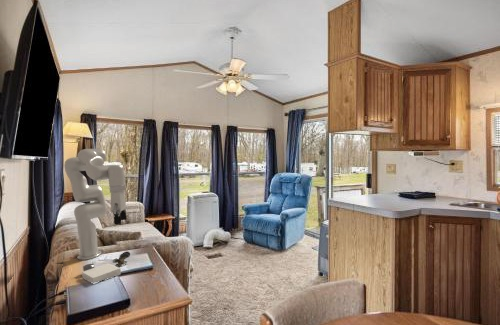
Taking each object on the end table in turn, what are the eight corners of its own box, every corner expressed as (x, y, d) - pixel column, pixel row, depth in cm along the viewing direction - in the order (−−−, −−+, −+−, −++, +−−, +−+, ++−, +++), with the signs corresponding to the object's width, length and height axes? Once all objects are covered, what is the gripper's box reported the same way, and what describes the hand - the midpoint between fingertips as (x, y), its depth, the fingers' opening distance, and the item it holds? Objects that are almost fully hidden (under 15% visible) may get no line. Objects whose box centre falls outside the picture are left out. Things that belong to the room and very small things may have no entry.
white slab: (82, 277, 146) (82, 272, 146) (109, 268, 156) (108, 263, 156) (93, 284, 138) (93, 278, 138) (120, 274, 148) (120, 268, 148)
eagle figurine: (129, 264, 157) (133, 255, 165) (120, 255, 155) (125, 246, 164) (118, 273, 157) (123, 263, 166) (108, 263, 155) (114, 254, 164)
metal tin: (82, 273, 152) (81, 266, 152) (92, 270, 156) (91, 263, 155) (86, 276, 148) (85, 268, 148) (96, 272, 152) (95, 264, 152)
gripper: (115, 187, 160) (118, 219, 161) (104, 191, 143) (107, 226, 144) (129, 186, 161) (132, 217, 162) (120, 190, 144) (123, 225, 145)
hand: (120, 221), depth 153 cm, fingers open, 9 cm apart
